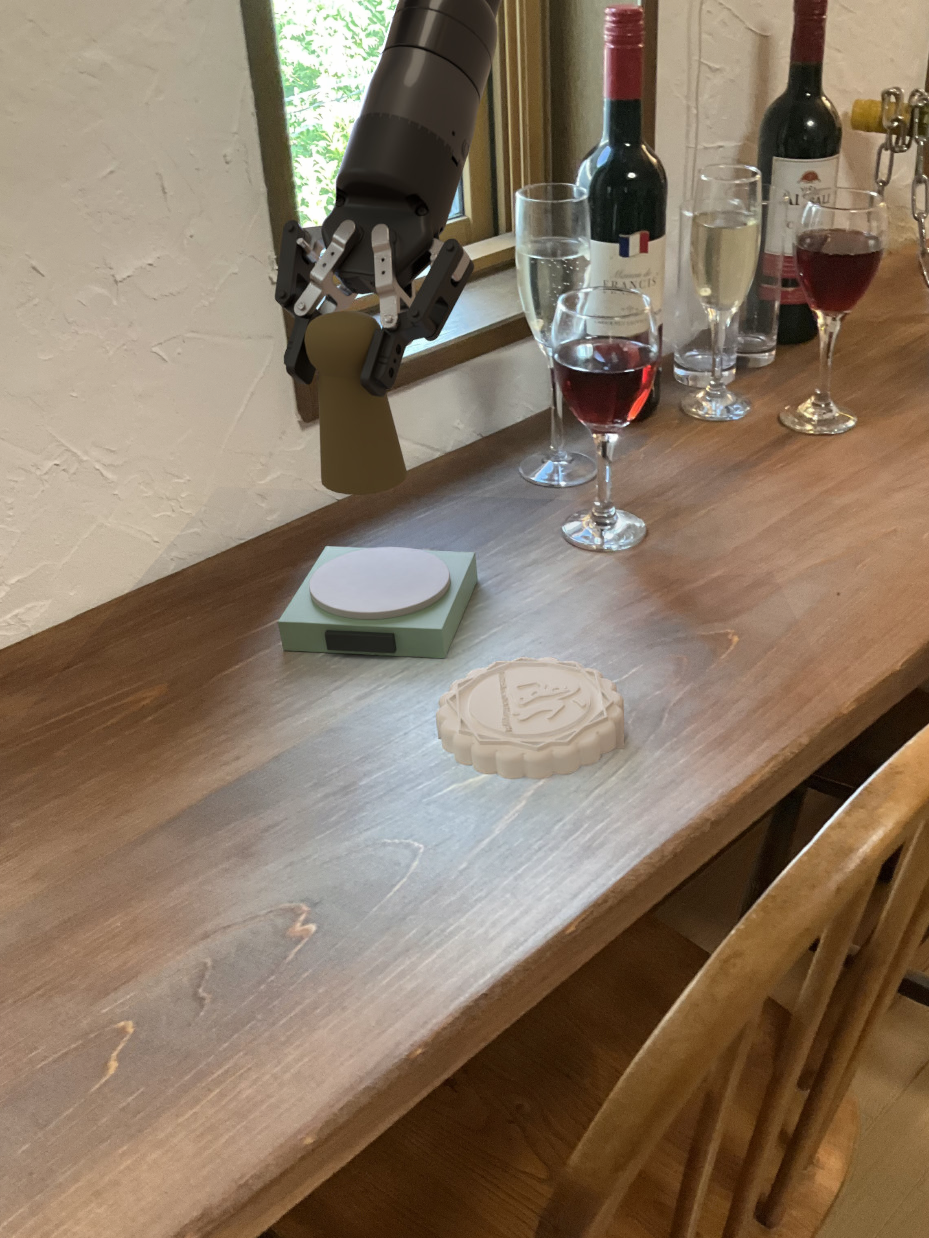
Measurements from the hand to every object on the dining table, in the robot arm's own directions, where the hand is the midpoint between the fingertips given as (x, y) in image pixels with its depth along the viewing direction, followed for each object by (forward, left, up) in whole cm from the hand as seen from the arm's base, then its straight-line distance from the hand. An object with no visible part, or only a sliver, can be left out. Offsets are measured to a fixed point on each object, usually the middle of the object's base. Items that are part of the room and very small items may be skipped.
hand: (334, 384), depth 84 cm
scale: (+1, +2, -18) cm, 18 cm away
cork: (+1, +2, -7) cm, 8 cm away
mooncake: (+15, -14, -18) cm, 27 cm away
